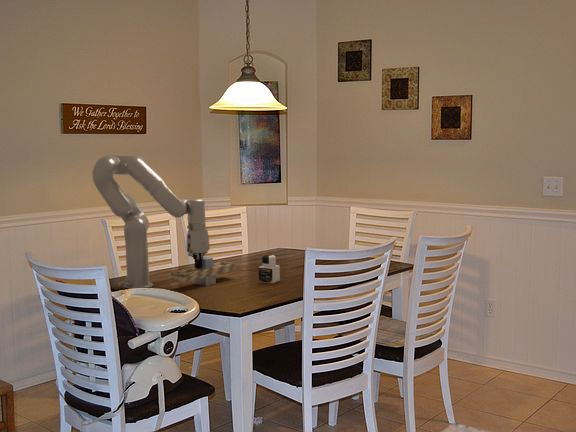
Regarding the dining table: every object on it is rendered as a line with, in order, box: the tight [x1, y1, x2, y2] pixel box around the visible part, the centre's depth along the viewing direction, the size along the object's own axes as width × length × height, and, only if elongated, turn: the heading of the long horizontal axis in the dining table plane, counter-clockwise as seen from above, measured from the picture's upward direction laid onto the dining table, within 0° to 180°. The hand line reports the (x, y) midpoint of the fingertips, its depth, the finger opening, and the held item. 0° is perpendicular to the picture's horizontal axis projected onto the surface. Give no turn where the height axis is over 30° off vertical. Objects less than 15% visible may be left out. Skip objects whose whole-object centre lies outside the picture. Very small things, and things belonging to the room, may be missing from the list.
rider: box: [199, 256, 214, 270], centre depth 318 cm, size 4×4×5 cm
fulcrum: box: [193, 275, 217, 287], centre depth 318 cm, size 6×8×4 cm
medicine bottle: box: [258, 254, 281, 284], centre depth 320 cm, size 7×7×12 cm
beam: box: [170, 261, 237, 283], centre depth 318 cm, size 32×8×4 cm, turn 141°
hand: (198, 267), depth 314 cm, fingers closed
